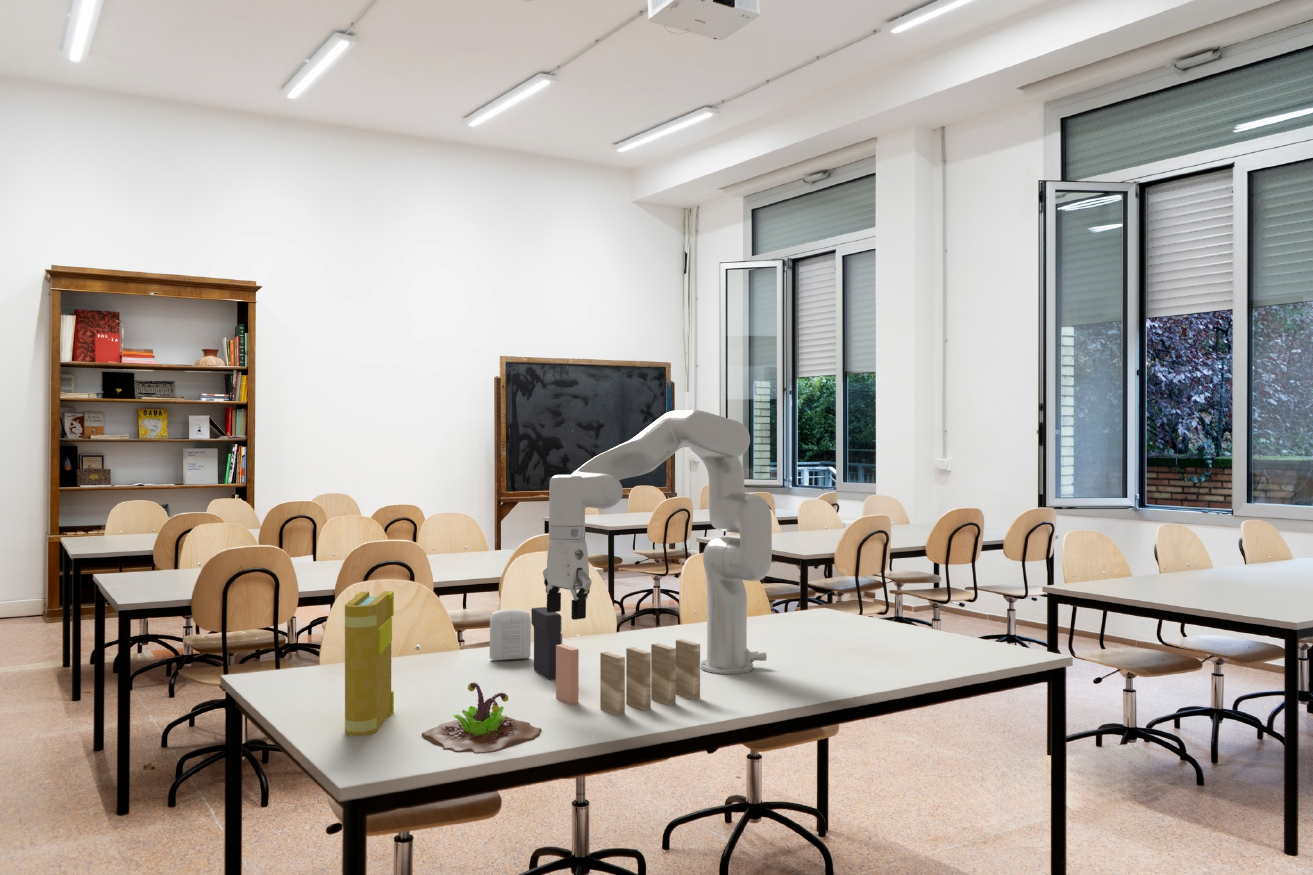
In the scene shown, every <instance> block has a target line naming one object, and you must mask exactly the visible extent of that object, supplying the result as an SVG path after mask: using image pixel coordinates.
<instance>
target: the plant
mask: <svg viewBox="0 0 1313 875" xmlns="http://www.w3.org/2000/svg"><path fill="white" fill-rule="evenodd" d="M467 690H468V691H469V692H474V690H476V691H477V692H476V693H477V707H476V706H473V705H469V707H467V708H468V709H467V710H465V709H462V710H461V714H463V715H464V717H463V716H462V715H459V714H454V713H453V714H452V716H453V717H454V720H452V721H448V722H443V723H440V724H439V725H438V726H436V727H433V728H430V729H428V730H426V731H424V732H423V731H422V732H421V737H422V739H424V740H426V741H429V742H431V743H432V744H433V745H436V746H440V747H442V750H443V751H448V750H449V751H451V752H454V753H466V752H472V753H473V754H486V753H487V754H489V753H490V754H491V753H495V752H499V751H501V750H502V751H503V750H505V749H508V748H509V747H513V746H515V745H518V744H521V743H525V742H530V741H534V740H536V738H538V737H540V735H541V734H540V733H541V732H542V730H543V729H542V728H540V727H535V726H533V725H531V724H530V722H528V721H523V720H518V719H514V718H512V717H510V716H507V715H502V713H503V711H504V706H499V704H498V702H497V701H496V699H497V698H499V697H500V699H501V701H503V702H508V701H509V695H508V694H507V693H505V692H498V693H496V694H494V695H493V696H492V697H489V698H487V699H486V700H485V699H484V694H483V692H482V689H481V687H480V685H479V684H478V683H476V682H470V683H469V684H468V686H467ZM490 710H492V711H490ZM455 719H456V720H455Z"/></svg>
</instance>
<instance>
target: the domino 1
mask: <svg viewBox="0 0 1313 875" xmlns="http://www.w3.org/2000/svg"><path fill="white" fill-rule="evenodd" d="M579 653H580V652H579V648H576V647H574V646H571V645H568V644H564V643H562V644H560V645H556V679H555V699H557V700H559V701H561V702H565V703H567V704H569V705H574V704H579V694H580V693H579V683H580V682H579V669H580V668H579V666H580V664H579V659H580V658H579Z"/></svg>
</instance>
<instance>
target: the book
mask: <svg viewBox="0 0 1313 875" xmlns="http://www.w3.org/2000/svg"><path fill="white" fill-rule="evenodd" d="M394 597H395V591H394V590H392V591H390V590H389V591H388V590H386V591H383V592H381V593H380V594H379V595H378V596H370V591H358V592H357V593H355V596H353V598H352V599H351V600H349V601H348V602H346V603H345V604H344V733H346V734H345V735H347V736H350V735H352V736H353V737H364V736H370V735H372V734H375V733H377V732H378V730H380V728H381V727H382V725H383V723H385V721H386V720H385V719H387V718H388V717H392V714H393V713H394V712H393V711H394V710H395V708H394V707H395V706H394V705H395V693H394V692H395V691H394V690H393V691H392V641H393V616H394V615H395V612H394V611H395V610H394V608H395V607H394V604H395V602H394V599H395V598H394ZM380 726H381V727H380ZM352 736H351V737H352Z"/></svg>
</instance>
